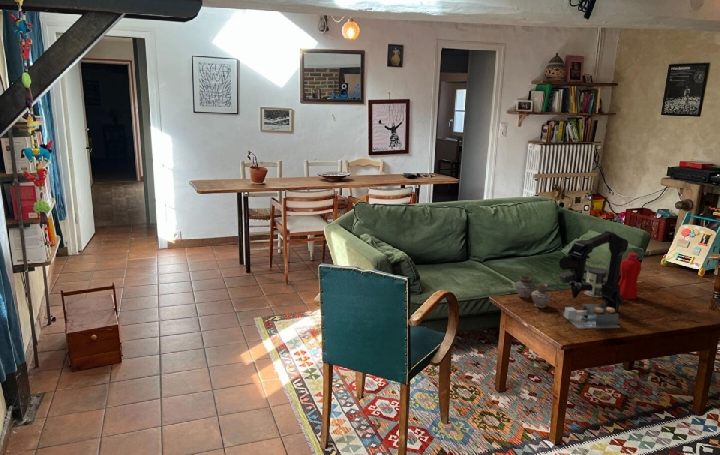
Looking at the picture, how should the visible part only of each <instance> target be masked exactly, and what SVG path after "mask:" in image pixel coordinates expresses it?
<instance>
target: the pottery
mask: <svg viewBox="0 0 720 455" xmlns="http://www.w3.org/2000/svg"><path fill="white" fill-rule="evenodd" d="M532 279H533V278H532V276H528V275H520V276H519V281H516V282H514V288H515V291H516V292H517V293H518V296H519V297H521V298H524V299H525V298H526V299H528V298H530V296H531V299H532V301H533V302H534V307H536V308H538V307H539V308H540V309H544V307H545V308H546V307H547V306H546V305H547V304H548V303H550V300H551V298H552V295H551V294H550V293H549V292H548V291H547V289H548V284H547V283H541V282H539V283H537V285H536V284H535V283H533V282H532ZM536 288H537V289H536Z"/></svg>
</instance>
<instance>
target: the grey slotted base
mask: <svg viewBox="0 0 720 455" xmlns="http://www.w3.org/2000/svg"><path fill="white" fill-rule="evenodd" d="M607 307H608V306H606V305H605V304H604V303H583V304H582V308H581V310H587V309H588V310H589V312H588V316H587V315H578V316H576V319H567V318H566V317H565V316H564V313H562V314H561V315H562V317H564V318H565V319H566V320H567V321H569V322H570V323H571V324H572V325H573V326H574V325H575V326H574V327H575V328H577V329H578V330H585V329H586V330H587V329H588V330H589V329H618V328H620V327H621V326H620V325H618V322H619V321H618V320H619V316H620V315H619V314H618V313H616V312H613V313H608V311H606V308H607ZM595 308H602V309H603V312H602V313H598V314H597V313H596V311H594V310H595Z"/></svg>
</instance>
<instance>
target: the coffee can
mask: <svg viewBox="0 0 720 455" xmlns="http://www.w3.org/2000/svg"><path fill="white" fill-rule="evenodd" d="M608 272H609V270H606V269H605V268H601V267H595V266H593V267H592V266H591V267H588V268H587V272H586V273H587V274H586V279H585V282H588V283H590V284H591V285H592V286H593V289H592V291H584V294H585V295H587V296H589V297H592V298H593V297H594V298H602V294H601V289H602V284H605V283H606V282H607V278H608Z"/></svg>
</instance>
